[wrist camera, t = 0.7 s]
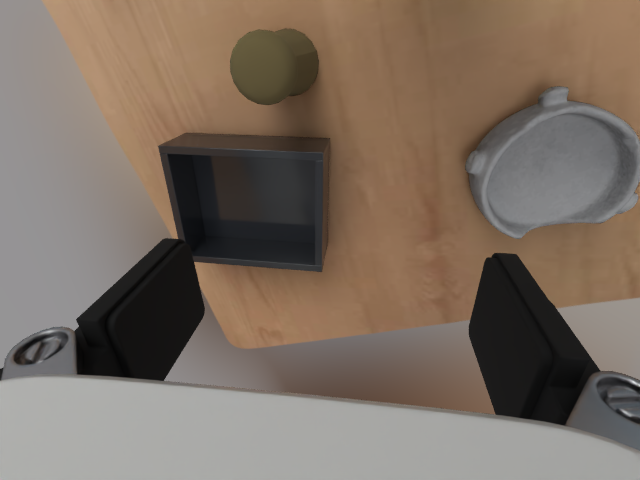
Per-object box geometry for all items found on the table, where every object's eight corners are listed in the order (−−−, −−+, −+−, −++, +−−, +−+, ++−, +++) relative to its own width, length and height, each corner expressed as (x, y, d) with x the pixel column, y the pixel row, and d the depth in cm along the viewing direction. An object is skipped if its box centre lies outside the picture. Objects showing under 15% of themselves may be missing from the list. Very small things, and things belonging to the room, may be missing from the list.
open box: (185, 132, 40) (157, 145, 35) (330, 138, 38) (323, 152, 33) (204, 237, 46) (182, 261, 41) (327, 245, 45) (322, 272, 39)
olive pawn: (264, 97, 37) (227, 115, 27) (255, 31, 34) (210, 25, 24) (320, 94, 36) (302, 111, 26) (316, 25, 33) (294, 17, 24)
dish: (630, 183, 36) (665, 201, 32) (498, 244, 41) (513, 267, 37) (583, 56, 31) (617, 57, 27) (441, 143, 37) (450, 156, 32)
